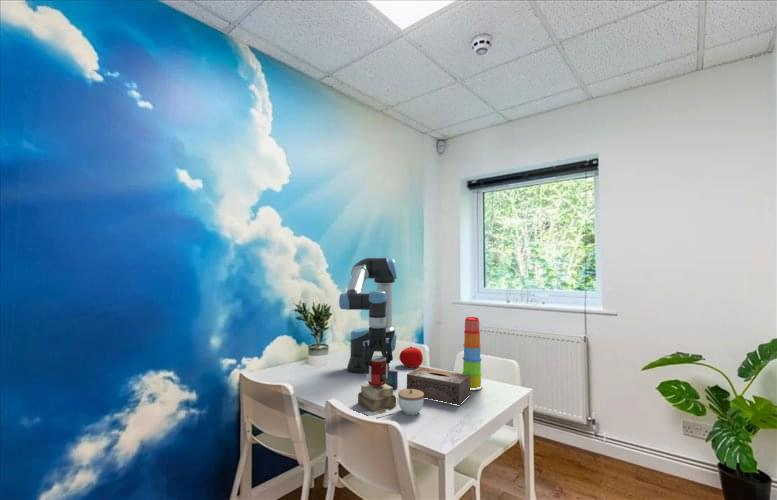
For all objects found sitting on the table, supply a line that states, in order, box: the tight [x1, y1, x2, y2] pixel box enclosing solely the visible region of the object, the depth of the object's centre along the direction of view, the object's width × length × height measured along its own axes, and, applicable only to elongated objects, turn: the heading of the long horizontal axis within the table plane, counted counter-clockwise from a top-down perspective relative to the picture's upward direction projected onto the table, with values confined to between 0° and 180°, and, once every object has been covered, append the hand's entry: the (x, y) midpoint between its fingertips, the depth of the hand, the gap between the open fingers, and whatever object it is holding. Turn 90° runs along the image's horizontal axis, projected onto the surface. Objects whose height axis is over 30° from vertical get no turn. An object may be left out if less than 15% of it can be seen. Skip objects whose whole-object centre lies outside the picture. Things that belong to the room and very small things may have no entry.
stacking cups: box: [461, 316, 483, 388], centre depth 185 cm, size 10×10×35 cm
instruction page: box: [364, 409, 395, 418], centre depth 152 cm, size 10×7×1 cm
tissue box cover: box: [406, 366, 471, 405], centre depth 173 cm, size 26×14×10 cm, turn 59°
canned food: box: [367, 355, 386, 386], centre depth 161 cm, size 8×8×11 cm
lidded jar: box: [397, 388, 425, 415], centre depth 154 cm, size 11×11×9 cm
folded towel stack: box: [357, 383, 397, 412], centre depth 161 cm, size 12×12×8 cm
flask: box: [385, 365, 399, 391], centre depth 182 cm, size 9×3×11 cm, turn 74°
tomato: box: [398, 346, 424, 368], centre depth 220 cm, size 12×14×11 cm
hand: (376, 379), depth 161 cm, fingers closed on canned food, 8 cm apart
